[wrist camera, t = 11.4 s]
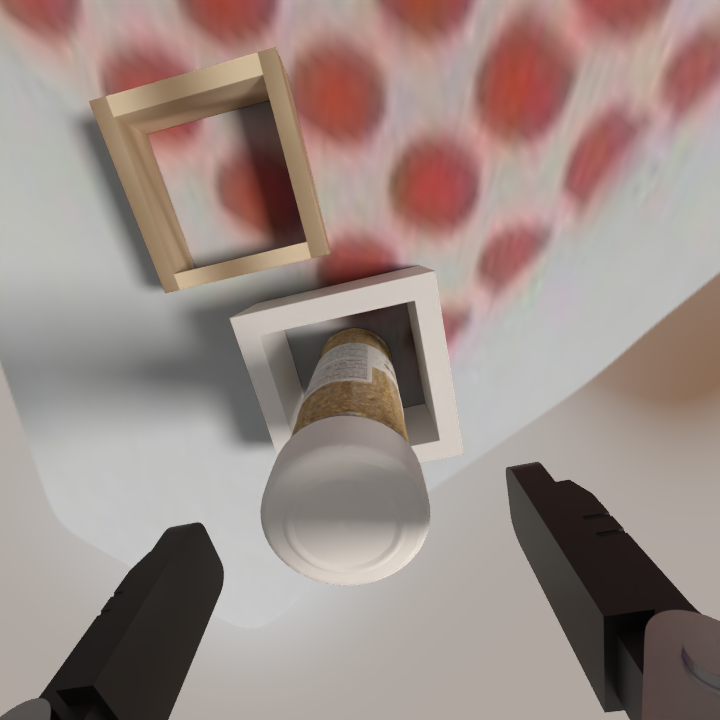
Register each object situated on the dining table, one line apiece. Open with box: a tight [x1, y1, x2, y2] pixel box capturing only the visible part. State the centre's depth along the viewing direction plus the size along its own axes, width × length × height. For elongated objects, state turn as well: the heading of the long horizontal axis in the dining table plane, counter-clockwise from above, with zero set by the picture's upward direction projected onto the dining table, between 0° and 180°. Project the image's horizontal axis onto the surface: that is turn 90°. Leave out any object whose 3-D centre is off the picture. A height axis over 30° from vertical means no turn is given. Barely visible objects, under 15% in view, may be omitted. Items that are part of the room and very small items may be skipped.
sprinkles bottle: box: [261, 328, 430, 585], centre depth 15 cm, size 5×5×14 cm
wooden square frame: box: [89, 47, 331, 293], centre depth 18 cm, size 9×9×2 cm
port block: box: [230, 265, 464, 463], centre depth 20 cm, size 10×10×4 cm
